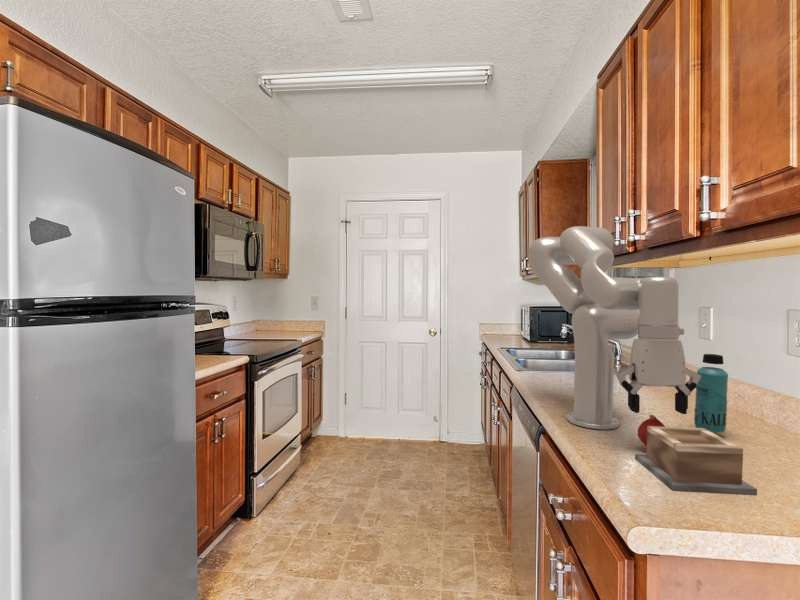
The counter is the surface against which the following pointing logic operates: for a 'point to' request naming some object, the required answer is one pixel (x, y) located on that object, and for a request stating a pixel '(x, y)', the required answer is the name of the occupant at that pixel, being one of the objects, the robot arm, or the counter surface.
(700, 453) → the open square box
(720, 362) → the beverage bottle
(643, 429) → the pomegranate
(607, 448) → the counter surface
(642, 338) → the robot arm
